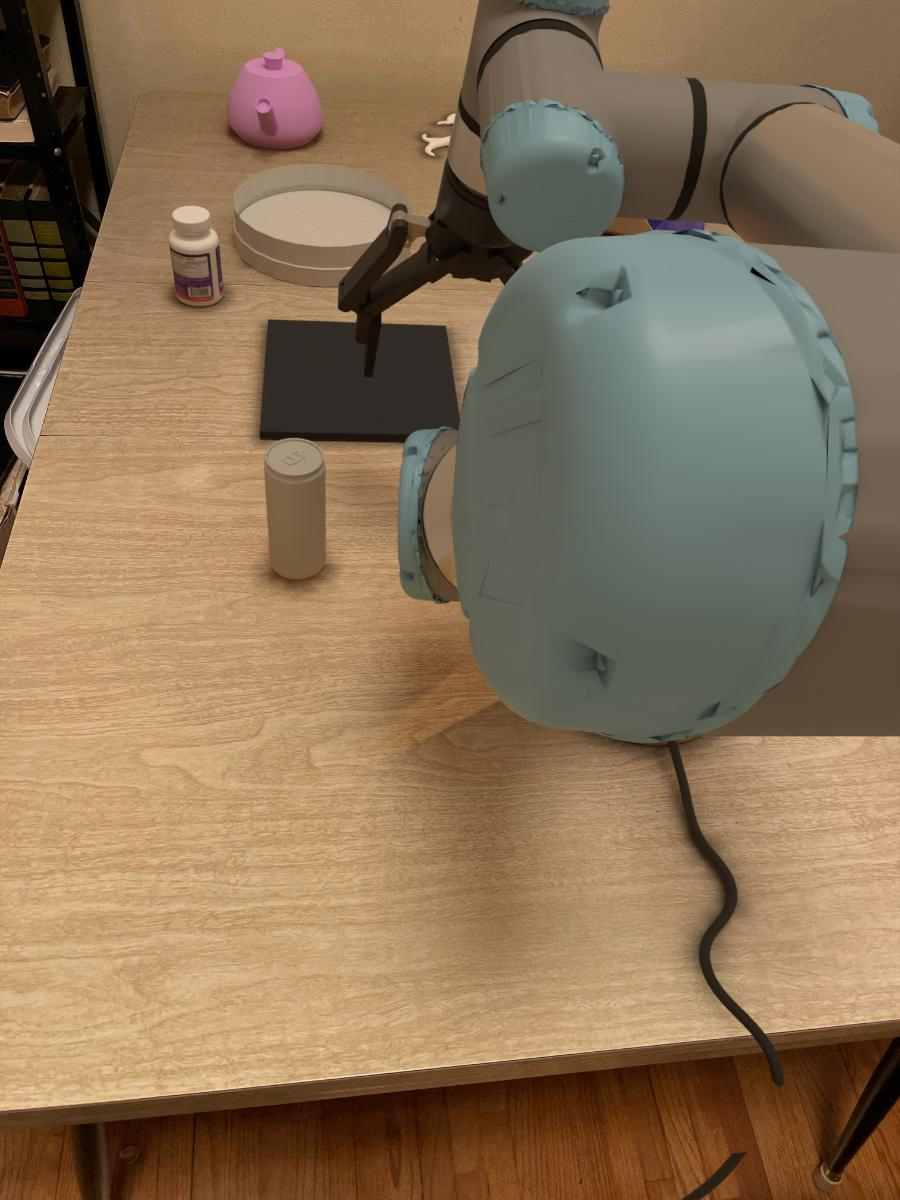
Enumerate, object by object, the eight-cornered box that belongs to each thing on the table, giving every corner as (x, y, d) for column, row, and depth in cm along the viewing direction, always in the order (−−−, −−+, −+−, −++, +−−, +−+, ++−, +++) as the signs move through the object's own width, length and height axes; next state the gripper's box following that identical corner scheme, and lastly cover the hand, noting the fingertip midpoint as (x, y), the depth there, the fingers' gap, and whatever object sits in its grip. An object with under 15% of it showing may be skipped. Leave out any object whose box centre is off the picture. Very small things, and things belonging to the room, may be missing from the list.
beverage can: (337, 565, 84) (338, 458, 75) (295, 592, 81) (291, 485, 73) (300, 536, 86) (297, 428, 77) (258, 561, 83) (250, 453, 75)
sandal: (719, 262, 128) (755, 147, 117) (572, 234, 129) (595, 119, 118) (719, 234, 134) (755, 122, 122) (579, 208, 135) (601, 95, 124)
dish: (443, 263, 121) (447, 225, 117) (286, 303, 111) (284, 263, 108) (353, 188, 132) (354, 151, 129) (203, 219, 123) (200, 180, 119)
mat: (461, 443, 97) (462, 435, 96) (260, 439, 95) (259, 431, 94) (445, 332, 110) (446, 325, 110) (268, 326, 108) (267, 318, 107)
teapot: (216, 159, 134) (210, 77, 127) (238, 103, 148) (233, 26, 140) (316, 168, 135) (315, 88, 127) (328, 112, 149) (328, 36, 141)
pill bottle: (197, 278, 113) (188, 197, 106) (233, 293, 112) (227, 212, 105) (165, 297, 110) (154, 215, 103) (203, 313, 108) (194, 231, 101)
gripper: (657, 160, 72) (573, 356, 90) (321, 109, 67) (305, 326, 86) (671, 230, 68) (581, 419, 87) (318, 181, 64) (301, 391, 82)
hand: (443, 373), depth 86 cm, fingers open, 13 cm apart
